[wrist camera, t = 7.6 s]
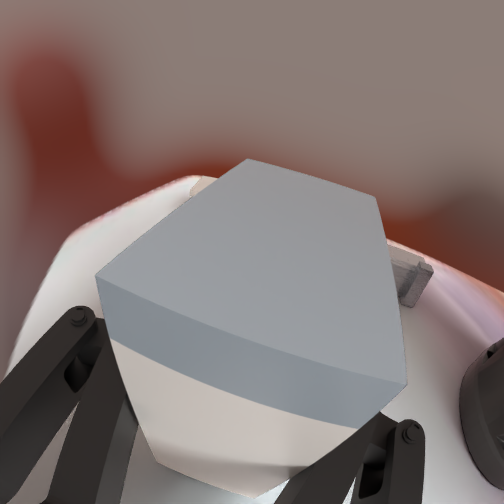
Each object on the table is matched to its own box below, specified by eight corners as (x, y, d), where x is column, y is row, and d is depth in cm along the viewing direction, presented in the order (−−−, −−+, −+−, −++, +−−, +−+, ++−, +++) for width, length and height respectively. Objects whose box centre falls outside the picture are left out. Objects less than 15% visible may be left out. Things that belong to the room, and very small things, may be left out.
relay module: (291, 379, 17) (375, 197, 10) (254, 498, 10) (407, 384, 3) (215, 353, 17) (247, 158, 11) (157, 461, 11) (94, 275, 4)
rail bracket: (405, 278, 29) (422, 245, 27) (412, 307, 25) (433, 272, 23) (246, 225, 32) (253, 189, 30) (229, 248, 28) (236, 206, 26)
